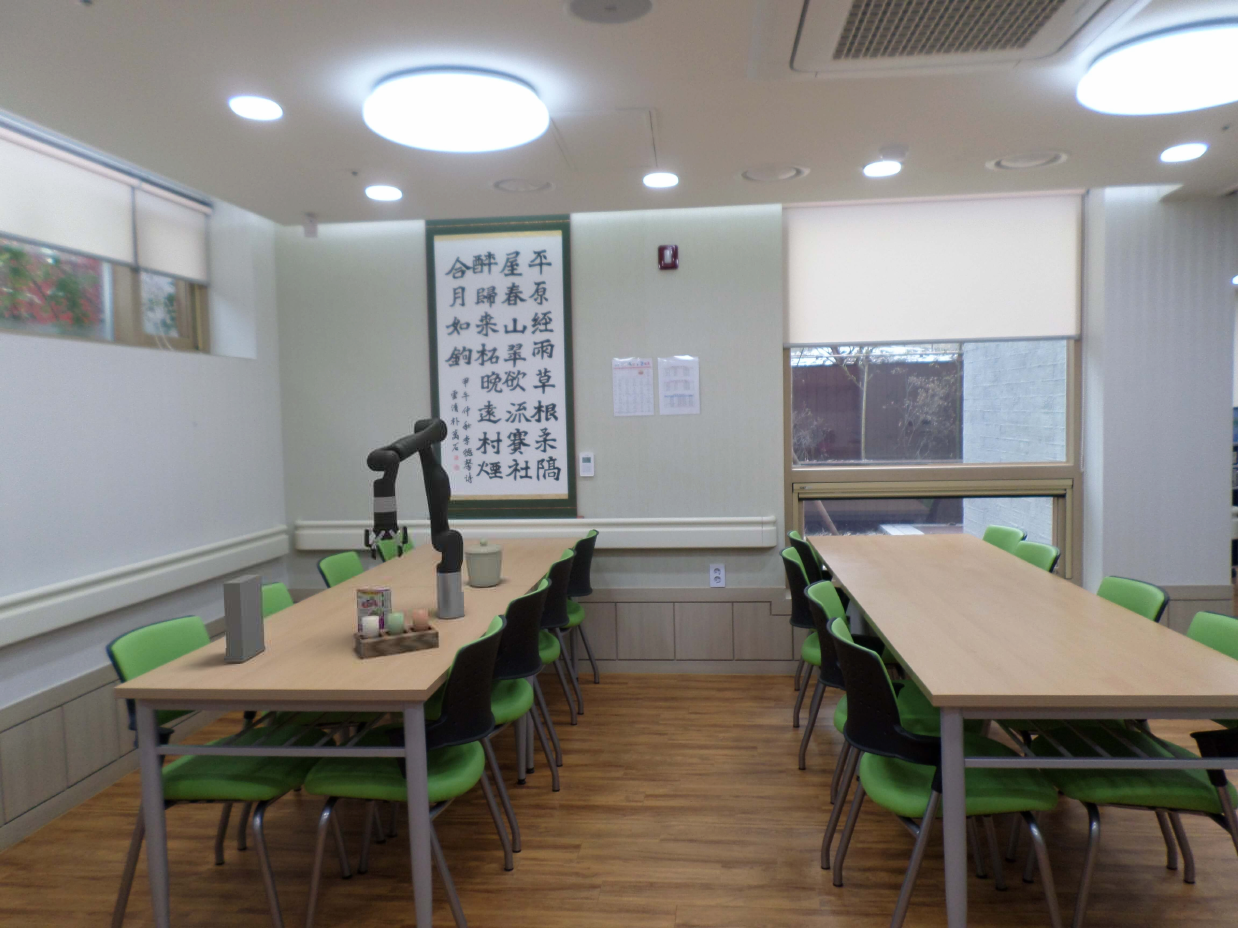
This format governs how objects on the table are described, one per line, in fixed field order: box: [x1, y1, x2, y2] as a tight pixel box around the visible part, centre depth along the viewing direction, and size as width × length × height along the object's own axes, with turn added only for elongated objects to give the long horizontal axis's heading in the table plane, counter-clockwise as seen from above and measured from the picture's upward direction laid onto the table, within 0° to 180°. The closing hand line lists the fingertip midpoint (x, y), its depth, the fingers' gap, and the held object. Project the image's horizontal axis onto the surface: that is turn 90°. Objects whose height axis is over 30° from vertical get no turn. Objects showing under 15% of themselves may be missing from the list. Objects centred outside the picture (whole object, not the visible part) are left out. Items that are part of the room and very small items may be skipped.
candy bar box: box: [356, 586, 393, 632], centre depth 269 cm, size 11×5×16 cm, turn 71°
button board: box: [353, 623, 440, 659], centre depth 253 cm, size 24×14×5 cm, turn 118°
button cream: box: [362, 616, 379, 640], centre depth 249 cm, size 5×5×7 cm
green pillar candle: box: [388, 611, 405, 636], centre depth 253 cm, size 5×5×7 cm
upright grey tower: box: [222, 574, 266, 664], centre depth 246 cm, size 14×6×25 cm, turn 178°
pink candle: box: [412, 608, 429, 632], centre depth 257 cm, size 5×5×7 cm
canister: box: [463, 538, 505, 588], centre depth 351 cm, size 18×18×21 cm
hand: (386, 558), depth 261 cm, fingers open, 7 cm apart
